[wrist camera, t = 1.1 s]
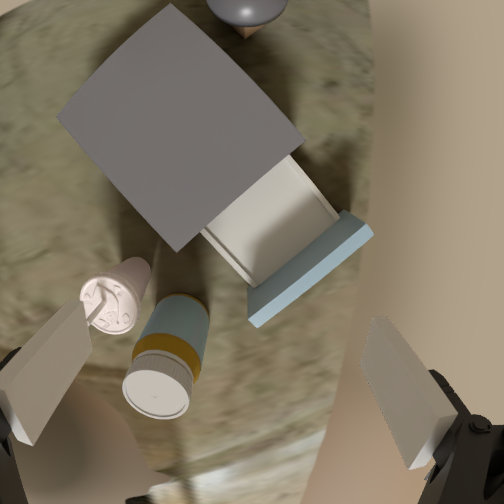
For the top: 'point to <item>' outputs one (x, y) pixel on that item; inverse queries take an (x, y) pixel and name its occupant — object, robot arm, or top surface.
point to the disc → (247, 11)
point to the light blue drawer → (283, 238)
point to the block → (246, 30)
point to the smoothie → (116, 296)
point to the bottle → (168, 357)
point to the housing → (177, 126)
